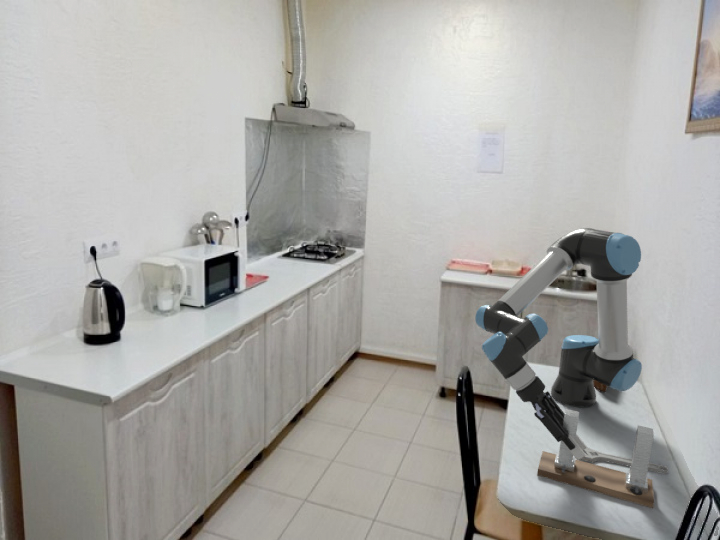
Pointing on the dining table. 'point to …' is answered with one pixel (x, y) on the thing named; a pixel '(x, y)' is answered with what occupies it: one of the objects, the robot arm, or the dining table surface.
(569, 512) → the dining table surface
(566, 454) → the block
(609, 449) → the dining table surface
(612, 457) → the adjustable wrench
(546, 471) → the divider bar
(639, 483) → the fixed leg
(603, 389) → the food container
